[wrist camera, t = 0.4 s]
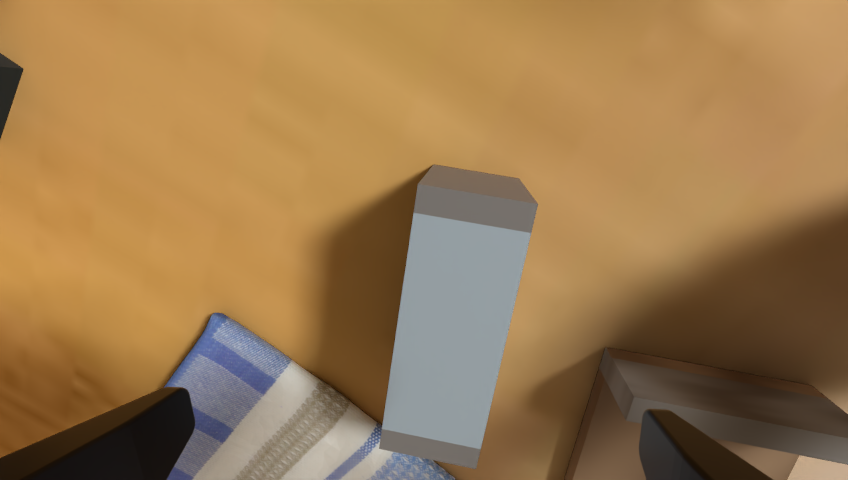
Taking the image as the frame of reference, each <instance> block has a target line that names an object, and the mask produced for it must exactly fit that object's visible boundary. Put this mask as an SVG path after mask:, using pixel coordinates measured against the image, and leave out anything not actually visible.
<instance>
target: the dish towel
mask: <svg viewBox="0 0 848 480" xmlns="http://www.w3.org/2000/svg"><path fill="white" fill-rule="evenodd" d="M165 387H183V388H186V389H187V390H188V392H189V394H190V398H191V403H192V407H193V412H194V416H195V429H194V432H193V434H192V436H191V438H190V439H189V441H188V443H187V445H186V446H185V448H184V450H183V452H182V454H181V455H180V457H179V459H178V461H177V462H176V464H175V466H174V468H173V470H172V471H171V473H170V475H169V477H168V478H167V480H456V479H455V478H454V477H453V476H452V475H450V474H449V473H447V472H446V471H445V470H444V469H443V468H442V467H440V466H439V465H438V464H436V463H435V462H434V461H433V460H430V459H425V458H420V457H415V456H411V455H406V454H401V453H396V452H392V451H387V450H382V449H379V445H380V439H381V432H382V425H380V424H379V423H377V422H376V421H375V420H373V419H372V418H371V417H369V416H368V415H367V414H365V413H364V412H363V411H362V410H360V409H359V408H358V407H356V406H355V405H354V404H353V403H352V402H351V401H350V400H349V399H347V398H346V397H344V396H343V395H342V394H341V393H339V392H338V391H336V390H335V389H334V388H332V387H331V386H329V385H328V384H327V383H325V382H323V381H321V380H320V379H318V378H317V377H315V376H314V375H312V374H311V373H309V372H308V371H306V370H305V369H304V368H302V367H301V366H299V365H298V364H297V363H295V362H294V361H293V360H292V359H290V358H289V357H288V356H286V355H285V354H283V353H282V352H280V351H279V350H278V349H276V348H275V347H273V346H272V345H270V344H269V343H267V342H266V341H264V340H263V339H261V338H260V337H259V336H257V335H256V334H254V333H253V332H251V331H250V330H248V329H247V328H245V327H244V326H242V325H241V324H239V323H238V322H236V321H234V320H233V319H231V318H229V317H227V316H226V315H224V314H222V313H213V314H212V316H211V317H210V320H209V322H208V324H207V326H206V328H205V330H204V332H203V334H202V335H201V337H200V338H199V339H198V341H197V342H196V344H195V345H194V347H193V348H192V349H191V351H190V352H189V353H188V355H187V356H186V357H185V359H184V360H183V361H182V363H181V364H180V366H179V367H178V368H177V370H176V371H175V373H174V374H173V375H172V377H171V378H170V380H169V381H168V382H167V384H166V385H165V386H164V388H165Z"/></svg>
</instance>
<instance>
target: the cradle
mask: <svg viewBox="0 0 848 480" xmlns="http://www.w3.org/2000/svg"><path fill="white" fill-rule="evenodd" d="M647 409H666V410H670V411H672V412H674V413H675V414H677V415H678V416H680V417H681V418H682V419H684V420H685V421H687V422H688V423H690V424H691V425H693V426H694V427H696V428H697V429H699V430H700V431H702V432H703V433H705V434H706V435H708V436H709V437H711V438H712V439H714V440H715V441H717V442H718V443H720V444H721V445H723V446H724V447H726V448H727V449H729V450H730V451H732V452H733V453H735V454H736V455H738V456H739V457H740V458H742V459H743V460H745V461H746V462H748V463H749V464H751V465H752V466H754V467H755V468H757V469H758V470H760V471H761V472H763V473H764V474H766V475H767V476H769V477H770V478H772V479H773V480H787V479H788V477H789V475H790V473H791V471H792V469H793V467H794V465H795V463H796V461H797V459H798V457H799V455H802V456H807V457H812V458H817V459H822V460H827V461H832V462H837V463H842V464H847V465H848V414H847V413H845V412H844V411H843V410H842V409H840V408H839V407H838V406H837V405H835V404H834V403H833V402H832V401H830V400H829V399H828V398H827V397H825V396H824V395H823V394H822V393H820V392H819V391H818V390H817V389H815V388H814V387H813V386H811V385H805V384H800V383H795V382H789V381H784V380H779V379H773V378H768V377H763V376H757V375H752V374H747V373H741V372H736V371H731V370H725V369H720V368H715V367H709V366H704V365H699V364H693V363H688V362H683V361H677V360H672V359H666V358H661V357H656V356H650V355H645V354H640V353H634V352H629V351H624V350H618V349H613V348H608V347H605V350H604V354H603V357H602V360H601V363H600V366H599V370H598V373H597V376H596V379H595V382H594V386H593V389H592V392H591V395H590V398H589V402H588V405H587V408H586V411H585V414H584V418H583V421H582V424H581V427H580V430H579V434H578V437H577V440H576V443H575V446H574V450H573V453H572V456H571V459H570V462H569V466H568V469H567V472H566V475H565V478H564V480H646V477H645V474H644V471H643V467H642V464H641V461H640V456H639V440H640V432H641V424H642V416H643V413H644V411H645V410H647Z"/></svg>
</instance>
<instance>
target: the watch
mask: <svg viewBox="0 0 848 480" xmlns="http://www.w3.org/2000/svg"><path fill="white" fill-rule="evenodd" d="M22 71H23V68H21V67H20V66H18V65H17V64H16V63H14V62H13V61H11V60H10V59H8V58H7V57H5V56H4V55H2V54H1V53H0V138H1V135H2V132H3V129H4V126H5V123H6V120H7V117H8V114H9V111H10V108H11V105H12V101H13V98H14V95H15V92H16V89H17V86H18V83H19V80H20V77H21V74H22Z"/></svg>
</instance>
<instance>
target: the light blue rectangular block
mask: <svg viewBox="0 0 848 480" xmlns="http://www.w3.org/2000/svg"><path fill="white" fill-rule="evenodd" d="M537 206H538V204H537V202H536V201H535V199H534V198H533V197H532V195H531V194H530V193H529V191H528V190H527V189H526V187H525V186H524V185H523V183H522V182H521V181H520V179H519V178H512V177H506V176H500V175H494V174H488V173H482V172H476V171H470V170H464V169H458V168H452V167H446V166H440V165H433V166H432V167H431V168H430V170H429V171H428V172H427V173H426V175H425V176H424V177H423V178H422V179H421V181H420V182H419V183H418V186H417V193H416V200H415V207H414V213H413V220H412V227H411V234H410V241H409V248H408V254H407V261H406V268H405V275H404V282H403V289H402V295H401V302H400V309H399V316H398V323H397V329H396V336H395V343H394V350H393V357H392V364H391V370H390V377H389V384H388V391H387V398H386V404H385V411H384V418H383V425H382V432H381V439H380V445H379V449H382V450H387V451H392V452H396V453H401V454H406V455H411V456H415V457H420V458H425V459H430V460H435V461H439V462H444V463H449V464H454V465H458V466H463V467H468V468H473V469H476V467H477V463H478V459H479V454H480V450H481V446H482V442H483V437H484V433H485V429H486V424H487V420H488V416H489V412H490V407H491V403H492V399H493V394H494V390H495V386H496V382H497V377H498V373H499V369H500V364H501V360H502V356H503V352H504V347H505V343H506V339H507V334H508V330H509V326H510V322H511V317H512V313H513V309H514V304H515V300H516V296H517V292H518V287H519V283H520V279H521V274H522V270H523V266H524V262H525V257H526V253H527V249H528V244H529V240H530V236H531V232H532V227H533V223H534V219H535V214H536V210H537Z"/></svg>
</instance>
